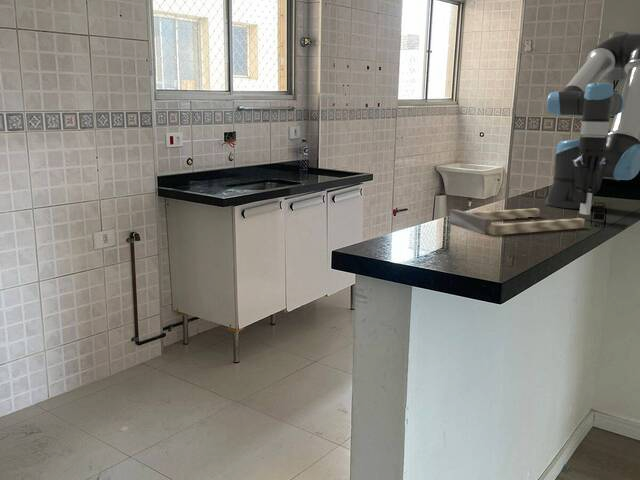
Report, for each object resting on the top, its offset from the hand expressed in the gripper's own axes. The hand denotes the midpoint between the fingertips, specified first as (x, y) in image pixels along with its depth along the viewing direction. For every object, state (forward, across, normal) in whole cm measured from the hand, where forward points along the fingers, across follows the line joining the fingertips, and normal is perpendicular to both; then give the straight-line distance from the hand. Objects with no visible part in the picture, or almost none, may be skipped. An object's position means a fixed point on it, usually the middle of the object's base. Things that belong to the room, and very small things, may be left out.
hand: (584, 213), depth 185 cm
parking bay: (+2, +26, 0) cm, 26 cm away
